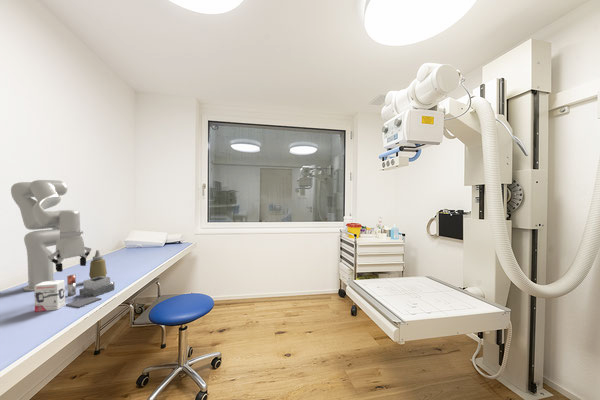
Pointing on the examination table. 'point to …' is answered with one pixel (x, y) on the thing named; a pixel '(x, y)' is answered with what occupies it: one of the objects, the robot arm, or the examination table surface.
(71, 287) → the peg
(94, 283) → the block
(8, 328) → the examination table surface
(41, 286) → the ink box
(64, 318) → the examination table surface
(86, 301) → the mat
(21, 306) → the examination table surface
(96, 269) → the squeeze bottle
